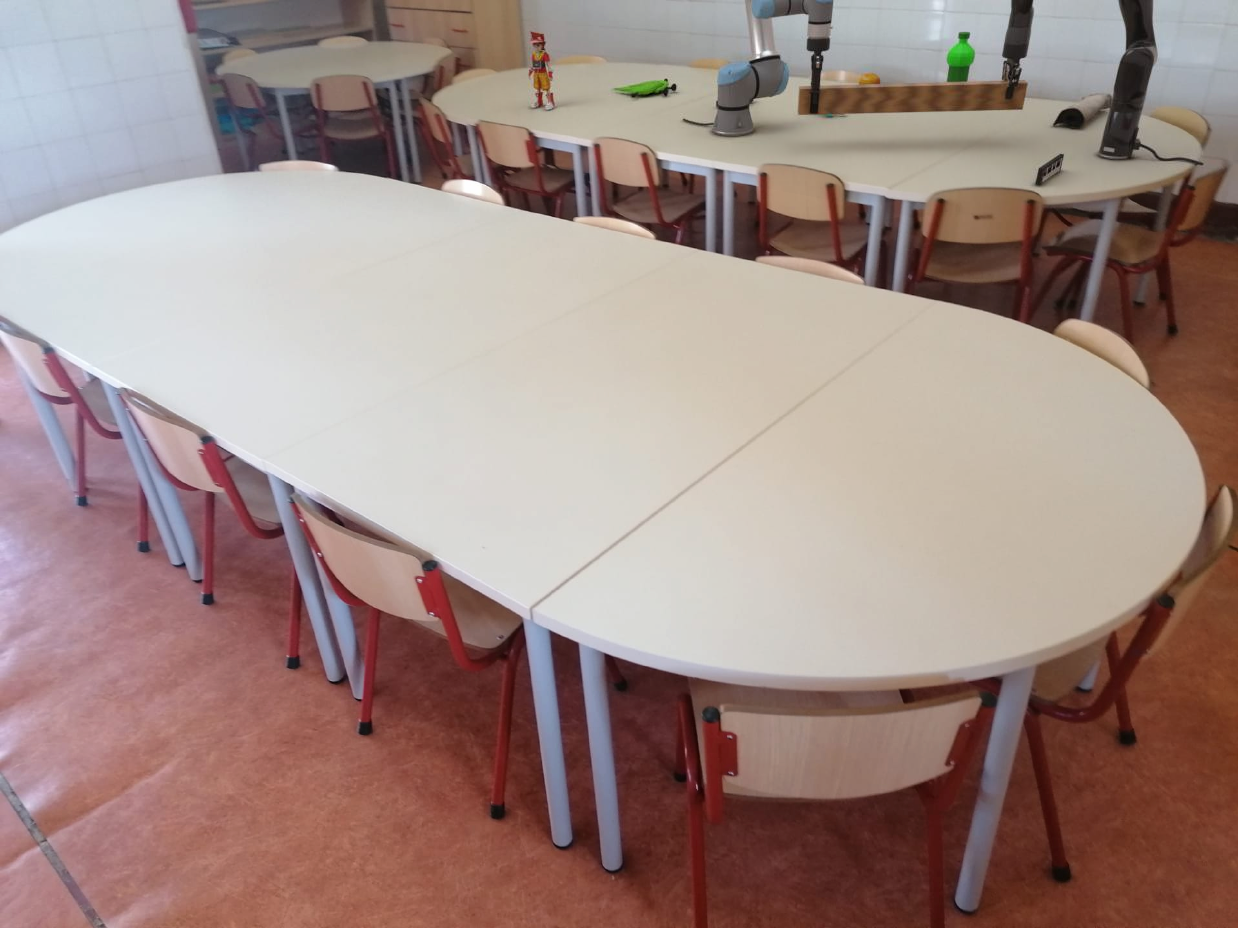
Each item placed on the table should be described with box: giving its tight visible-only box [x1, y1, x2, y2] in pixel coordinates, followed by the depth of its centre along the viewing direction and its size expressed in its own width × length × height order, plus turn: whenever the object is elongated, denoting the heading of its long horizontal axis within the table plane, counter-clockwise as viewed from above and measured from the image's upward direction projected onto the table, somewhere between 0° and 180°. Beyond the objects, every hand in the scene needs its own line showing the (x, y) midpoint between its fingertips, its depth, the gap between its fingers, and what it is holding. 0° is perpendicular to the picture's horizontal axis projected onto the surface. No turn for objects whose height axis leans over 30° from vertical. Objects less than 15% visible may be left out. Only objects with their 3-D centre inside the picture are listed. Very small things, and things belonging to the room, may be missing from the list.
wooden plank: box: [797, 79, 1029, 116], centre depth 302 cm, size 74×4×8 cm, turn 83°
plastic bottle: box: [946, 31, 976, 82], centre depth 348 cm, size 10×10×25 cm
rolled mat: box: [1052, 92, 1113, 129], centre depth 324 cm, size 30×9×10 cm
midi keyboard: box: [1035, 153, 1065, 186], centre depth 273 cm, size 18×1×5 cm, turn 138°
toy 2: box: [612, 78, 677, 99], centre depth 396 cm, size 28×5×30 cm
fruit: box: [858, 72, 881, 85], centre depth 374 cm, size 8×8×8 cm
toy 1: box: [527, 31, 556, 111], centre depth 374 cm, size 12×9×30 cm
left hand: (813, 111), depth 308 cm, fingers closed on wooden plank, 4 cm apart
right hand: (1006, 97), depth 299 cm, fingers closed on wooden plank, 4 cm apart
